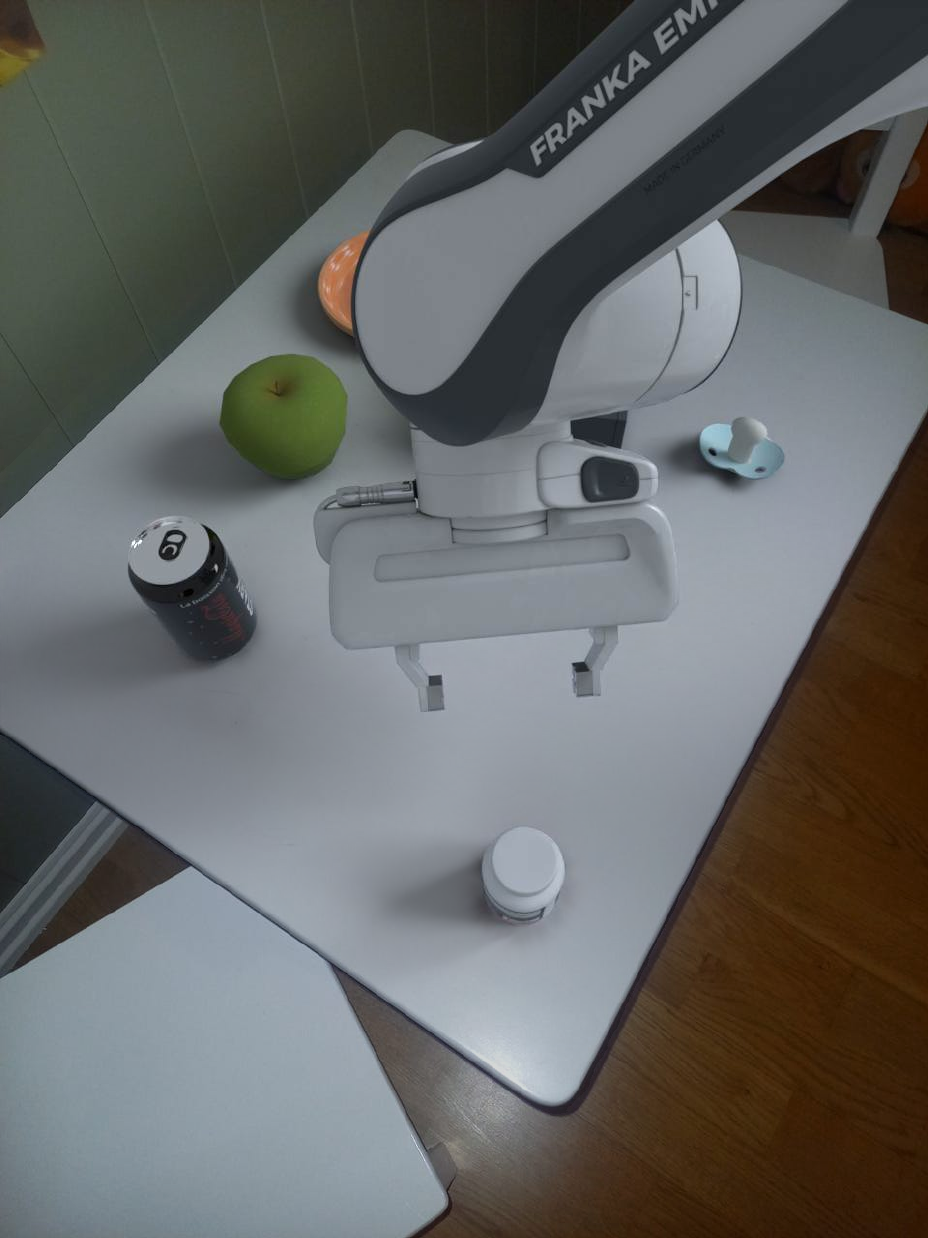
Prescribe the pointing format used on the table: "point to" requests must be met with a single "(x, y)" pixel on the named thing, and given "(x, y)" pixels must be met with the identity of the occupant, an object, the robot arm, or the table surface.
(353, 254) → the saucer
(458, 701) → the table surface
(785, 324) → the table surface
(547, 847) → the pill bottle
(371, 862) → the table surface
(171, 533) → the beverage can
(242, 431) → the apple
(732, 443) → the pacifier
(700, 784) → the table surface
